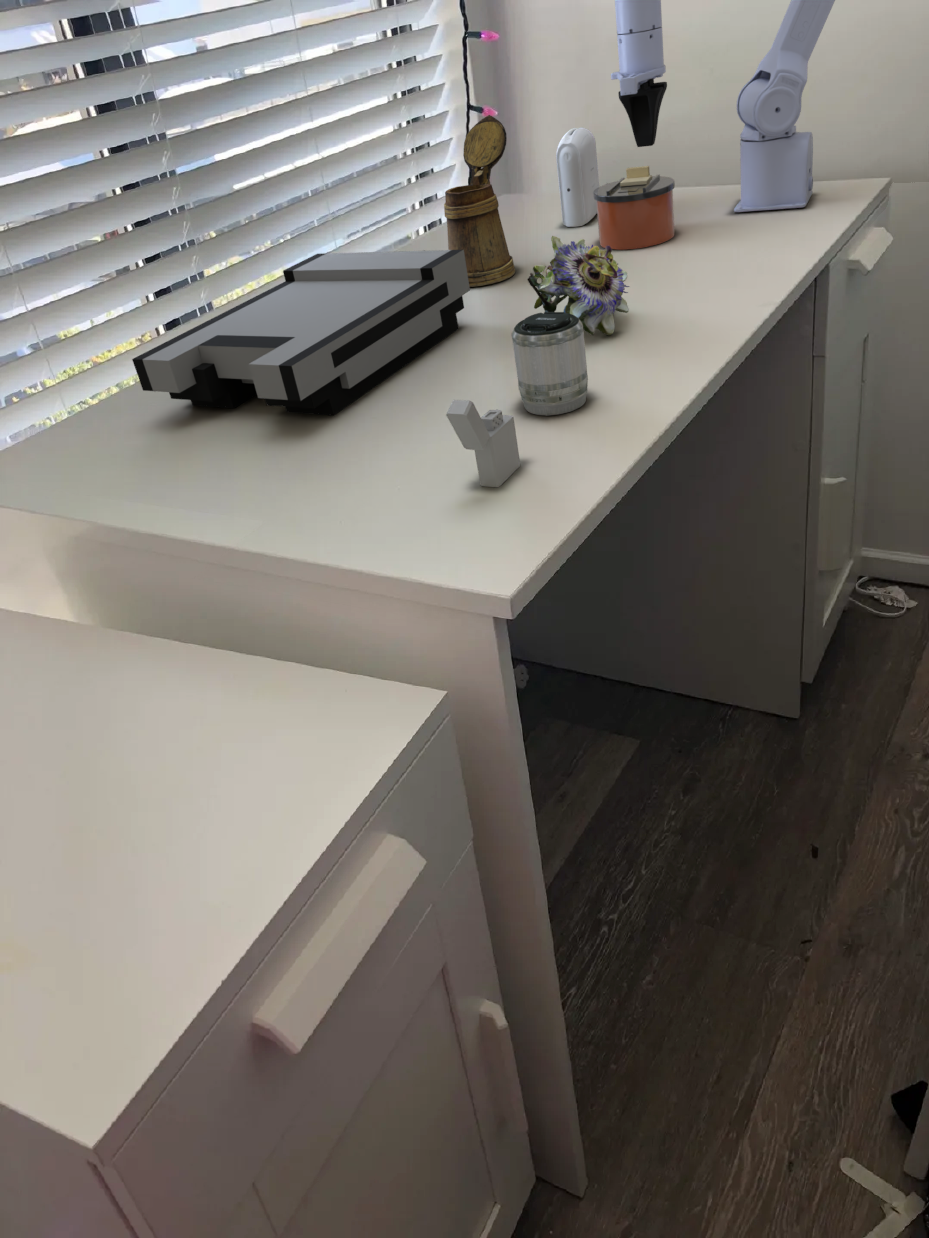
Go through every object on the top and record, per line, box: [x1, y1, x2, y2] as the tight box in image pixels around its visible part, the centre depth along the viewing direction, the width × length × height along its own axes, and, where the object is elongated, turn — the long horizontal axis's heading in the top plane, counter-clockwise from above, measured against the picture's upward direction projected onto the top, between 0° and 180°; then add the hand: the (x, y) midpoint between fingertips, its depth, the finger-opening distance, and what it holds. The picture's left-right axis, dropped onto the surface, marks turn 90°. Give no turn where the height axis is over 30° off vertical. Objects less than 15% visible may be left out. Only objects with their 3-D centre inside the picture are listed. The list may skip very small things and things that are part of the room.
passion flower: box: [526, 235, 630, 336], centre depth 106 cm, size 11×11×12 cm
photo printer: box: [555, 126, 600, 228], centre depth 148 cm, size 10×4×12 cm, turn 160°
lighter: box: [445, 399, 521, 488], centre depth 78 cm, size 7×2×8 cm, turn 151°
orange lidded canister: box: [593, 174, 676, 251], centre depth 134 cm, size 11×11×7 cm
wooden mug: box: [443, 114, 516, 288], centre depth 129 cm, size 9×14×18 cm, turn 154°
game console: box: [131, 249, 471, 417], centre depth 108 cm, size 21×32×8 cm, turn 150°
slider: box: [620, 165, 653, 186], centre depth 133 cm, size 4×3×2 cm
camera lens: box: [511, 311, 589, 417], centre depth 89 cm, size 6×6×8 cm
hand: (645, 145), depth 136 cm, fingers closed
